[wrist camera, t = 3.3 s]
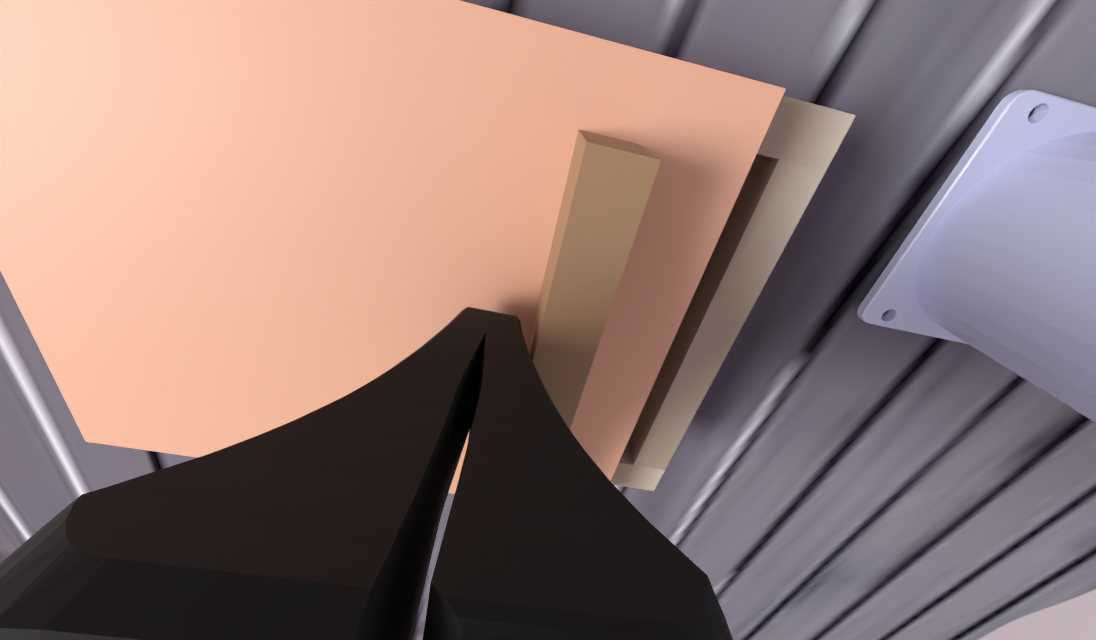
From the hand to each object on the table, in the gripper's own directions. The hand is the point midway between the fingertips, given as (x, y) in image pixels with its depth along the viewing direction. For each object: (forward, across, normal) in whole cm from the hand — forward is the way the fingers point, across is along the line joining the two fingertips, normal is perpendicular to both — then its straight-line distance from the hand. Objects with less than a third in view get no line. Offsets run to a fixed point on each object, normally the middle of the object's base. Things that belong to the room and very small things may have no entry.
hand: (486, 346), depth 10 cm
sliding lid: (+2, +3, 0) cm, 4 cm away
